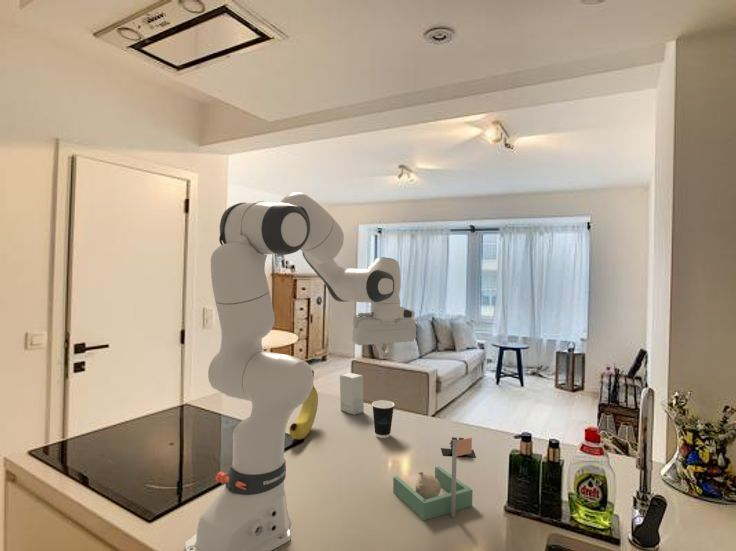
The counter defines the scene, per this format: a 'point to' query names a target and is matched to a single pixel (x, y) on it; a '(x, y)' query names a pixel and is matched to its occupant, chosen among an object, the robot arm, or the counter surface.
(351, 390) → the skincare box
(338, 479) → the counter surface
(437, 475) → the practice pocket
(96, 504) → the counter surface
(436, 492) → the garlic bulb
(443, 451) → the build plate
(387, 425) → the dixie cup
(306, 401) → the banana
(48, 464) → the counter surface
